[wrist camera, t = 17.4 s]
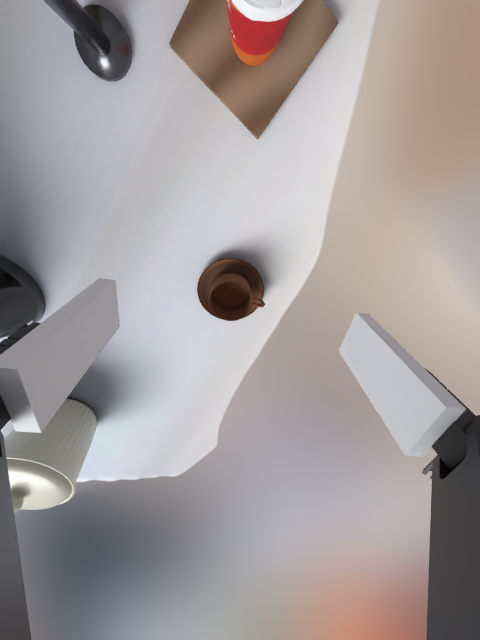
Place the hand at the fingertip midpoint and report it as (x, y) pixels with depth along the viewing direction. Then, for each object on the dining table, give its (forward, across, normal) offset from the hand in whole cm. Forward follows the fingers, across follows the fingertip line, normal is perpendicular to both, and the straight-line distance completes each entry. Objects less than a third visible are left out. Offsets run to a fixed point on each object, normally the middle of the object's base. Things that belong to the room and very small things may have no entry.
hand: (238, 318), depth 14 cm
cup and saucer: (+31, +1, -11) cm, 33 cm away
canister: (+31, -33, -50) cm, 67 cm away
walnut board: (+31, -1, +22) cm, 37 cm away
